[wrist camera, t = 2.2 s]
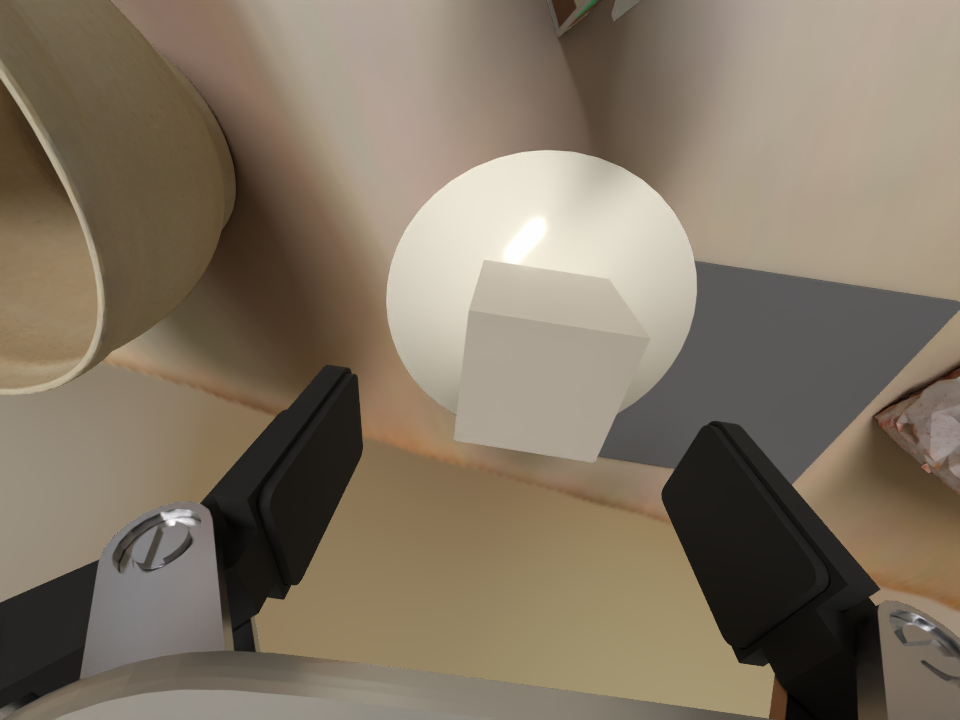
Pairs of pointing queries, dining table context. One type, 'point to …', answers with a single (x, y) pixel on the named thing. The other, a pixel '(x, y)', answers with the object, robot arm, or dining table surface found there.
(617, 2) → the food container
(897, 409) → the food item
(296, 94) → the dining table surface
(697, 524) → the robot arm
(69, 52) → the planter bowl
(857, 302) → the mat
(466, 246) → the lid
